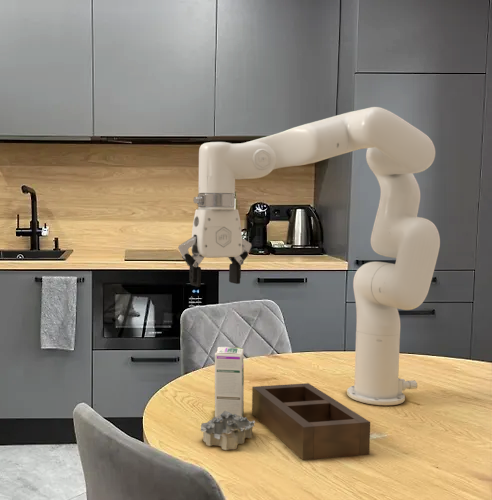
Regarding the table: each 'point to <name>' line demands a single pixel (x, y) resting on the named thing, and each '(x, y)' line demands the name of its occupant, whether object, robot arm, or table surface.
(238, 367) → the syrup box
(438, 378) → the table surface
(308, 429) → the holder
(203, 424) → the egg carton
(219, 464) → the table surface
